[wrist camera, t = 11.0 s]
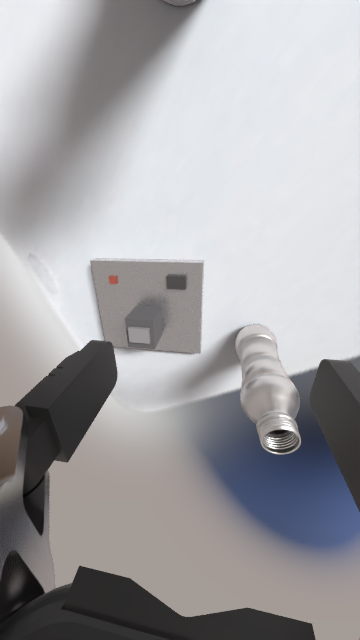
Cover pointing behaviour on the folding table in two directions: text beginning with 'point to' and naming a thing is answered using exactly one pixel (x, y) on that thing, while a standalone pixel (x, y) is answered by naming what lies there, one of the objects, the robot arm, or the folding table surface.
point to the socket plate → (152, 298)
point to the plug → (144, 327)
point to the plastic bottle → (267, 390)
